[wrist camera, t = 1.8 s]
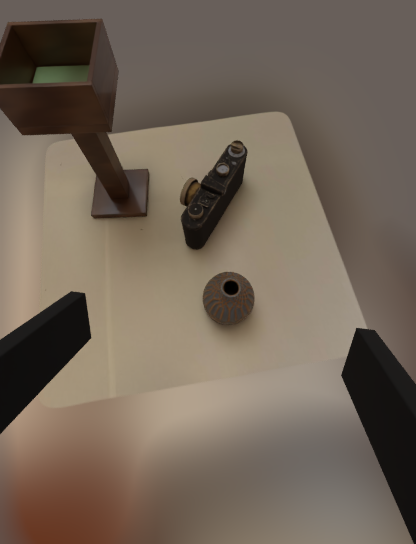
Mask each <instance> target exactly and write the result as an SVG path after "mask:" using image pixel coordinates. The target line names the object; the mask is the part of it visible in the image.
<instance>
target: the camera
mask: <svg viewBox="0 0 416 544" xmlns="http://www.w3.org/2000/svg"><path fill="white" fill-rule="evenodd" d="M246 156H247V149H246V147H245V146H244V145H243V143H242V142H241V141H238V140H237V141H233V142H232V143H231V144H230V145H229V146H228V147H227V148H226V149H225V151H224V152H223V154H222V155H221V157H220V158H219V160H218V161H217V163H216V164H215V166H214V167H213V169H212V170H211V171H210V172H209V173H208V176H207V175H206V176H205V177H204V179H203V180H202V182H201V184H200V183H198V181H197V179H194V178H190V179H188V180H187V182H186V183H185V185H184V187H183V189H182V192H181V196H180V202H181V204H182V205H184V206H187V208H186V209H185V211H184V212H183V214H182V216H181V222H182V225H183V230H184V234H185V241H186V244H187V245H188V246H189V247H190V248H192V249H200V248H202V247H203V246H204V245H205V243H206V242H207V240H208V238H209V237H210V235H211V233H212V232H213V230H214V228H215V227H216V225H217V223H218V222H219V220H220V218H221V217H222V215H223V214H224V212H225V210H226V209H227V207H228V205H229V204H230V202H231V200H232V199H233V197H234V195H235V194H236V192H237V190H238V189H239V187H240V186H241V184H242V181H243V174H244V168H245V162H246Z"/></svg>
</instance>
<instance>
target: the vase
mask: <svg viewBox="0 0 416 544" xmlns="http://www.w3.org/2000/svg"><path fill="white" fill-rule="evenodd" d="M203 304H204V307H205V310H206V312H207V313H208V315H209V316H210V317H211V318H212V319H213V320H215V321H216V322H219V323H221V324H227V325H230V324H236V323H238V322H240V321H242V320H244V319H245V318H246V317H247V316H248V315H249V314H250V312H251V310H252V308H253V305H254V291H253V288H252V286H251V284H250V283H249V281H248V280H247V279H246V278H245V277H243V276H242V275H240V274H238V273H234V272H223V273H220V274H218V275H216V276H214V277H213V278H212V279H211V280H210V281H209V282H208V283H207V285H206V287H205V289H204V292H203Z"/></svg>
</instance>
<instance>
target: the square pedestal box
mask: <svg viewBox="0 0 416 544" xmlns="http://www.w3.org/2000/svg"><path fill="white" fill-rule="evenodd" d="M117 80H118V68H117V65H116V61H115V58H114V55H113V52H112V49H111V45H110V42H109V39H108V36H107V33H106V29H105V26H104V23H103V20H102V19H83V20H58V21H57V20H56V21H30V22H8V23H7V26H6V29H5V32H4V35H3V37H2V40H1V43H0V109H1V110H2V111H3V112H4V114H5V115H6V116H7V117H8V118H9V120H10V121H11V122H12V123H13V125H14V126H15V127H17V129H18V130H19V132H20V133H21V134H22V135H46V134H72V136H73V137H74V139H75V141H76V142H77V144H78V146H79V147H80V149H81V151H82V152H83V154H84V155H85V157H86V159H87V160H88V162H89V164H90V165H91V167H92V169H93V170H94V172H95V174H96V182H95V189H94V197H93V204H92V212H91V216H92V217H93V218H110V217H136V216H147V202H148V182H149V172H148V169H136V170H123V168H122V166H121V164H120V162H119V159H118V157H117V155H116V153H115V151H114V148H113V146H112V144H111V142H110V139H109V137H108V135H107V133H106V132H112V124H113V115H114V107H115V97H116V88H117Z"/></svg>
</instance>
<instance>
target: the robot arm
mask: <svg viewBox="0 0 416 544" xmlns="http://www.w3.org/2000/svg"><path fill="white" fill-rule="evenodd" d="M90 339H91V333H90V325H89V318H88V311H87V304H86V296H85V293H80V292H72V291H71V292H70V293H68V294H67V295H65V296H64V297H62V298H61V299H59V300H58V301H56V302H55V303H53V304H52V305H51V306H49V307H48V308H46V309H45V310H43V311H42V312H40V313H39V314H37V315H36V316H34V317H33V318H32V319H30V320H29V321H27V322H26V323H24V324H23V325H21V326H20V327H18V328H17V329H15V330H14V331H12V332H11V333H10V334H8V335H7V336H5V337H4V338H2V339H1V340H0V434H1V433H2V432H3V431H4V429H5V428H6V427H7V426H8V425H9V424H10V423H11V422H12V421H13V420H14V419H15V418H16V417H17V416H18V414H20V413H21V412H22V410H23V409H24V408H25V407H26V406H27V405H28V404H29V403H30V402H31V401H32V400H33V399H34V398H35V397H36V396H37V395H38V394H39V393H40V391H41V390H42V389H43V388H44V387H45V386H46V385H47V384H48V383H49V382H50V381H51V380H52V379H53V378H54V377H55V376H56V375H57V374H58V372H59V371H60V370H61V369H62V368H63V367H64V366H65V365H66V364H67V363H68V362H69V361H70V360H71V359H72V358H73V357H74V356H75V355H76V353H77V352H78V351H79V350H80V349H81V348H82V347H83V346H84V345H85V344H86V343H87V342H88V341H89V340H90ZM341 376H342V378H343V381H344V383H345V385H346V387H347V390H348V392H349V394H350V396H351V399H352V401H353V404H354V406H355V408H356V411H357V413H358V415H359V418H360V420H361V422H362V425H363V427H364V429H365V432H366V434H367V436H368V438H369V441H370V443H371V445H372V448H373V450H374V452H375V455H376V457H377V459H378V462H379V464H380V466H381V468H382V471H383V473H384V475H385V478H386V480H387V482H388V485H389V487H390V489H391V492H392V494H393V496H394V499H395V501H396V503H397V505H398V508H399V510H400V512H401V515H402V517H403V519H404V521H405V524H406V526H407V529H408V531H409V533H410V536H411V538H412V540H413V542H414V544H416V384H415V383H414V381H413V380H412V379H411V377H410V376H409V375H408V374H407V372H406V371H405V370H404V368H403V367H402V366H401V364H400V363H399V362H398V361H397V359H396V358H395V356H394V355H393V354H392V352H391V351H390V350H389V349H388V347H387V346H386V345H385V343H384V342H383V340H382V339H381V338H380V337H379V335H378V334H377V333H376V331H375V330H369V329H361V328H356V331H355V334H354V337H353V340H352V344H351V347H350V350H349V353H348V356H347V359H346V362H345V365H344V368H343V372H342V375H341Z"/></svg>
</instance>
